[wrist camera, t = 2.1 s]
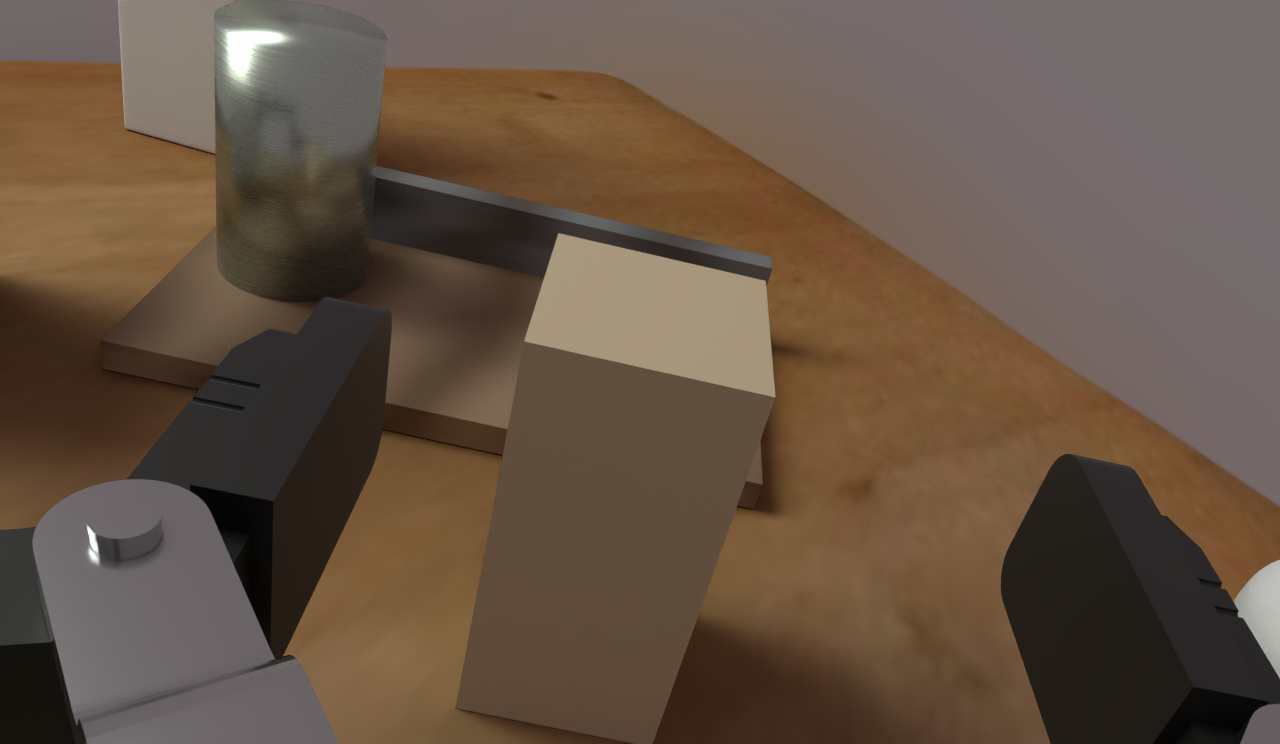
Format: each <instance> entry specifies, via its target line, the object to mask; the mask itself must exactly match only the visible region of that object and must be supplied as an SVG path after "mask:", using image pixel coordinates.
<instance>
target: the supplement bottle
mask: <svg viewBox="0 0 1280 744" xmlns="http://www.w3.org/2000/svg"><path fill="white" fill-rule="evenodd" d="M1233 602H1234V604H1235V605H1236V607H1237V609H1238V610H1239V612H1238V617H1241V618H1243V619H1244V620H1245V622H1246V623H1247V625H1248V627H1249V628H1250V630H1251V632H1252V633H1253V635H1254V637H1255V638H1256V640H1257V642H1258V643H1259V645H1260V647H1261V648H1262V650H1263V652H1264V653H1265V655H1266V656H1267V658H1268V660H1269V661H1270V663H1271V665H1272V666H1273V668H1274V670H1275V671H1276V673H1277V675H1278V676H1279V678H1280V560H1278V561H1275V562H1273V563H1271V564H1269V565H1267V566H1266V567H1264V568H1263V569H1261V570H1260V571H1259V572H1258V573H1256V574H1255V575H1254V576H1253V577H1252V578H1251V579H1250V580H1249V581H1248V583H1247V584H1246V585H1245V586H1244V588H1243V589H1242V590H1241V591H1240V592H1239V594H1238V595H1237V596H1236V598H1235V599H1234V600H1233Z"/></svg>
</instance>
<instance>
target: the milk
mask: <svg viewBox="0 0 1280 744" xmlns="http://www.w3.org/2000/svg"><path fill="white" fill-rule="evenodd" d="M238 1H246V0H118V9H119V10H118V11H119V30H120V47H121V67H122V85H123V104H124V122H125V128H126V129H128V130H131V131H135V132H138V133H142V134H146V135H149V136H153V137H156V138H160V139H163V140H167V141H170V142H174V143H177V144H181V145H184V146H188V147H192V148H195V149H199V150H202V151H206V152H209V153H213V154H215V70H214V14H215V12H216V11H217V10H218V9H219V8H220V7H222V6H224V5H227V4H230V3H234V2H238ZM289 1H291V0H289Z"/></svg>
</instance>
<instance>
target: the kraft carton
mask: <svg viewBox="0 0 1280 744" xmlns="http://www.w3.org/2000/svg"><path fill="white" fill-rule="evenodd" d="M774 400H775V386H774V374H773V363H772V351H771V339H770V327H769V315H768V303H767V292H766V281H764V280H760V279H755V278H751V277H747V276H742V275H738V274H734V273H729V272H725V271H721V270H716V269H712V268H708V267H703V266H699V265H694V264H690V263H686V262H681V261H677V260H673V259H668V258H664V257H660V256H655V255H651V254H647V253H642V252H638V251H634V250H629V249H625V248H621V247H616V246H612V245H608V244H603V243H599V242H595V241H590V240H586V239H582V238H577V237H573V236H568V235H564V234H560V233H558V236H557V239H556V242H555V246H554V249H553V252H552V255H551V258H550V261H549V264H548V268H547V271H546V274H545V277H544V280H543V283H542V286H541V290H540V293H539V296H538V299H537V302H536V305H535V308H534V312H533V315H532V318H531V321H530V324H529V327H528V330H527V334H526V337H525V340H524V344H523V350H522V355H521V360H520V366H519V371H518V376H517V382H516V387H515V392H514V398H513V403H512V408H511V414H510V419H509V425H508V430H507V435H506V441H505V446H504V451H503V457H502V462H501V467H500V473H499V478H498V483H497V489H496V494H495V500H494V505H493V510H492V516H491V521H490V526H489V532H488V537H487V542H486V548H485V553H484V558H483V564H482V569H481V575H480V580H479V585H478V591H477V596H476V601H475V607H474V612H473V617H472V623H471V628H470V633H469V639H468V644H467V650H466V655H465V660H464V666H463V671H462V676H461V682H460V687H459V692H458V698H457V703H456V708H457V709H462V710H467V711H472V712H477V713H482V714H487V715H492V716H497V717H502V718H507V719H512V720H517V721H522V722H527V723H532V724H537V725H542V726H547V727H552V728H557V729H562V730H567V731H572V732H577V733H582V734H587V735H592V736H597V737H602V738H607V739H612V740H617V741H622V742H627V743H632V744H653V742H654V739H655V736H656V733H657V730H658V727H659V725H660V722H661V719H662V716H663V713H664V711H665V708H666V705H667V702H668V699H669V696H670V694H671V691H672V688H673V685H674V682H675V679H676V677H677V674H678V671H679V668H680V665H681V663H682V660H683V657H684V654H685V651H686V648H687V646H688V643H689V640H690V637H691V634H692V631H693V629H694V626H695V623H696V620H697V617H698V615H699V612H700V609H701V606H702V603H703V600H704V598H705V595H706V592H707V589H708V586H709V584H710V581H711V578H712V575H713V572H714V569H715V567H716V564H717V561H718V558H719V555H720V552H721V550H722V547H723V544H724V541H725V538H726V536H727V533H728V530H729V527H730V524H731V521H732V519H733V516H734V513H735V510H736V507H737V504H738V502H739V499H740V496H741V493H742V490H743V488H744V485H745V482H746V479H747V476H748V473H749V471H750V468H751V465H752V462H753V459H754V456H755V454H756V451H757V448H758V445H759V442H760V440H761V437H762V434H763V431H764V428H765V425H766V423H767V420H768V417H769V414H770V411H771V408H772V406H773V403H774Z"/></svg>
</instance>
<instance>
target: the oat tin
mask: <svg viewBox="0 0 1280 744" xmlns="http://www.w3.org/2000/svg"><path fill="white" fill-rule="evenodd" d="M386 41H387V38H386V35H385V33H384V32H383V31H382V30H381V29H380V28H379V27H377V26H376V25H375V24H373V23H372V22H370V21H367V20H366V19H364V18H362V17H359V16H357V15H354V14H351V13H348V12H345V11H342V10H338V9H335V8H331V7H327V6H322V5H317V4H311V3H305V2H297V1H289V0H246V1H238V2H234V3H230V4H227V5H224V6H222V7H220V8H219V9H218V10H217V11H216V12H215V14H214V70H215V159H216V248H217V268H218V270H219V272H220V273H221V275H222V276H223V277H224V278H225V279H226V280H227V281H228V282H229V283H231V284H232V285H233V286H235V287H237V288H239V289H241V290H243V291H245V292H247V293H250V294H253V295H256V296H259V297H263V298H266V299H271V300H277V301H285V302H317V301H321V300H322V299H323V298H325V297H330V298H338V297H341V296H344V295H346V294H348V293H350V292H352V291H354V290H356V289H357V288H358V287H360V286H361V285H362V284H363V282H364V281H365V280H366V278H367V275H368V267H369V254H370V242H371V229H372V217H373V204H374V192H375V179H376V167H377V154H378V142H379V129H380V117H381V104H382V91H383V79H384V66H385V53H386Z"/></svg>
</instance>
